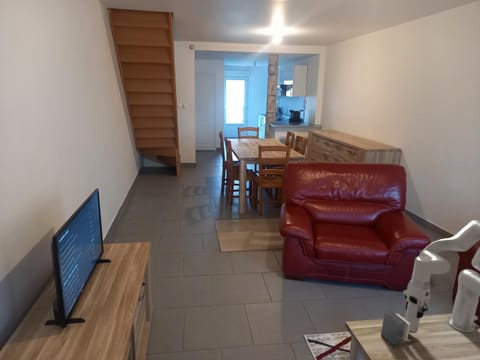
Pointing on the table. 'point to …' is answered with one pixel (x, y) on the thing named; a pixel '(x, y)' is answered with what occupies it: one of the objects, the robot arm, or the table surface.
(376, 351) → the table surface
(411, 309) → the travel mug
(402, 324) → the grey bracket
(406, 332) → the white flat slab
